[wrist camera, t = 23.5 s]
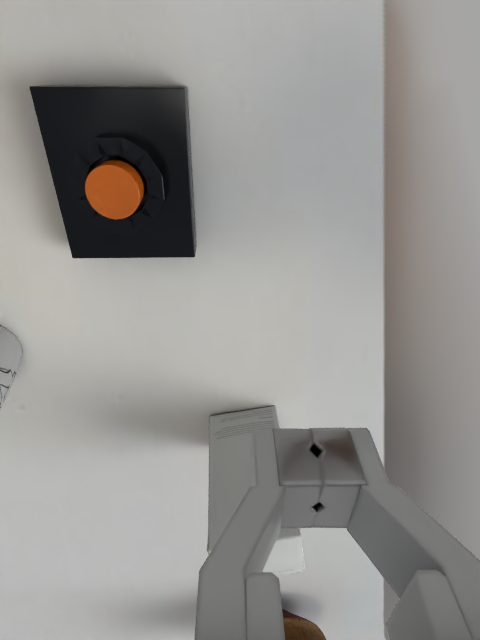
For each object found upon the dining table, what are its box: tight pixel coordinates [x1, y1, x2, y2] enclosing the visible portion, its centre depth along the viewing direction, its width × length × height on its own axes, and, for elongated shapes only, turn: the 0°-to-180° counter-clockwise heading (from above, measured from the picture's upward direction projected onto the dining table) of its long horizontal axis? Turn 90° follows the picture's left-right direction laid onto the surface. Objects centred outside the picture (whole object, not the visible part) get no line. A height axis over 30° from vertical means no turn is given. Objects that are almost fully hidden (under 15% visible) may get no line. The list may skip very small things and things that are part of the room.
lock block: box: [30, 85, 197, 258], centre depth 28 cm, size 12×10×4 cm
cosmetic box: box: [207, 406, 305, 576], centre depth 40 cm, size 8×7×16 cm
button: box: [85, 160, 144, 219], centre depth 26 cm, size 4×4×2 cm
